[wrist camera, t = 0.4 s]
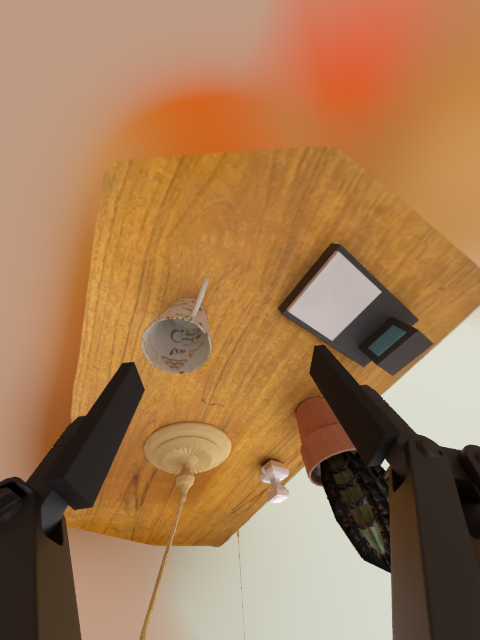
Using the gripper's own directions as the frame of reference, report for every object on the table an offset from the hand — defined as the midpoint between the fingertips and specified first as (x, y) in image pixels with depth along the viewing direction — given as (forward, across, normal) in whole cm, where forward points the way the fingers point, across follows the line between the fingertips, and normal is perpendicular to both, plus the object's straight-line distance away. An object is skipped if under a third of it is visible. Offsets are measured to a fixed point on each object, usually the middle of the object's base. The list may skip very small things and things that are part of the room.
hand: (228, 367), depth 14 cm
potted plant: (+18, +20, -32) cm, 42 cm away
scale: (+18, +23, -6) cm, 30 cm away
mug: (+19, -5, -2) cm, 19 cm away
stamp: (+18, +11, -56) cm, 60 cm away
